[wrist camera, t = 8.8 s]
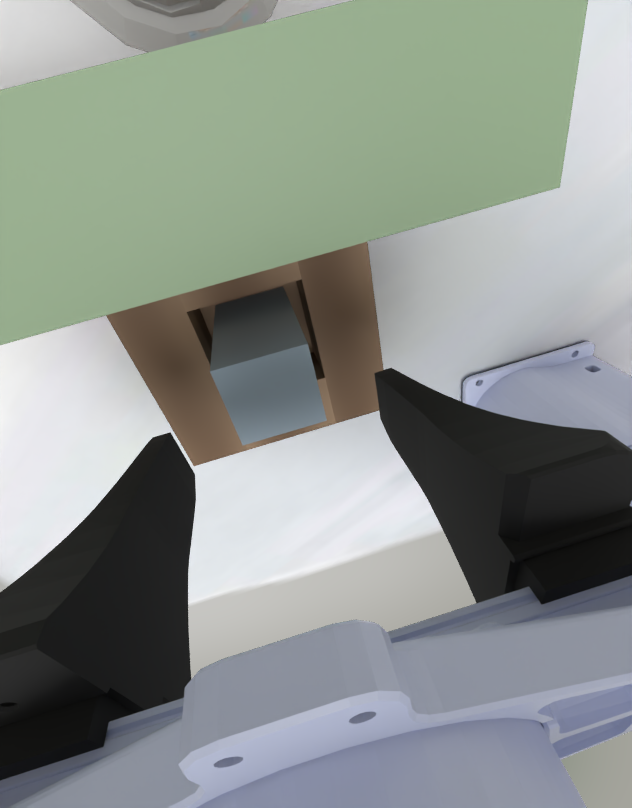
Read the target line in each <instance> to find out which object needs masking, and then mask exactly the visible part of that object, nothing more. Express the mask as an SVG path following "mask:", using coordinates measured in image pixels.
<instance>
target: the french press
mask: <svg viewBox="0 0 632 808" xmlns="http://www.w3.org/2000/svg"><path fill="white" fill-rule="evenodd" d="M70 1H71V2H73V3H74V4H75V5H76V6H78V7H79V8H80V9H81V10H83V11H84V12H85V13H86V14H88V15H89V16H90V17H92V18H93V19H94V20H95V21H97V22H98V23H99V24H100V25H102V26H103V27H104V28H105V29H107V30H108V31H109V32H110V33H112V34H113V35H114V36H115V37H117V38H118V39H119V40H121V41H122V42H123V43H124V44H126V45H128V46H131V47H134V48H137V49H141V50H144V51H147V52H152V51H156V50H160V49H164V48H168V47H172V46H176V45H180V44H184V43H188V42H192V41H196V40H199V39H203V38H207V37H211V36H215V35H219V34H223V33H227V32H231V31H235V30H239V29H243V28H247V27H250V26H254V25H258V24H262V23H264V22H265V21H266V20H267V19H268V18H270V16H271V14H272V12H273V10H274V8H275V5H276V3H277V1H278V0H70Z"/></svg>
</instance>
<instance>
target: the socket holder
mask: <svg viewBox="0 0 632 808" xmlns="http://www.w3.org/2000/svg"><path fill="white" fill-rule="evenodd" d="M587 4H588V0H352V1H349V2H345V3H341V4H337V5H333V6H329V7H325V8H321V9H317V10H313V11H309V12H305V13H301V14H298V15H294V16H290V17H286V18H282V19H278V20H274V21H270V22H266V23H262V24H258V25H254V26H250V27H247V28H243V29H239V30H235V31H231V32H227V33H223V34H219V35H215V36H211V37H207V38H203V39H199V40H196V41H192V42H188V43H184V44H180V45H176V46H172V47H168V48H164V49H160V50H156V51H152V52H148V53H145V54H141V55H137V56H133V57H129V58H125V59H121V60H117V61H113V62H109V63H105V64H101V65H97V66H94V67H90V68H86V69H82V70H78V71H74V72H70V73H66V74H62V75H58V76H54V77H50V78H46V79H43V80H39V81H35V82H31V83H27V84H23V85H19V86H15V87H11V88H7V89H3V90H0V345H2V344H6V343H10V342H13V341H17V340H20V339H24V338H27V337H31V336H34V335H38V334H41V333H45V332H49V331H52V330H56V329H59V328H63V327H66V326H70V325H73V324H77V323H80V322H84V321H88V320H91V319H95V318H98V317H102V316H105V315H106V316H107V318H108V320H109V321H110V323H111V325H112V326H113V328H114V330H115V332H116V333H117V335H118V337H119V338H120V340H121V342H122V344H123V345H124V347H125V349H126V350H127V352H128V354H129V356H130V357H131V359H132V361H133V362H134V364H135V366H136V368H137V369H138V371H139V373H140V374H141V376H142V378H143V379H144V381H145V383H146V385H147V386H148V388H149V390H150V391H151V393H152V395H153V397H154V398H155V400H156V402H157V403H158V405H159V407H160V409H161V410H162V412H163V414H164V415H165V417H166V419H167V421H168V422H169V424H170V426H171V427H172V429H173V431H174V433H175V434H176V436H177V438H178V439H179V441H180V443H181V445H182V446H183V448H184V450H185V451H186V453H187V455H188V457H189V458H190V460H191V462H192V463H193V465H194V466H196V465H199V464H203V463H206V462H209V461H213V460H216V459H219V458H223V457H226V456H229V455H232V454H236V453H239V452H242V451H246V450H249V449H252V448H256V447H259V446H262V445H266V444H269V443H272V442H276V441H279V440H282V439H286V438H289V437H292V436H296V435H299V434H302V433H305V432H309V431H312V430H315V429H319V428H322V427H325V426H329V425H332V424H335V423H339V422H342V421H345V420H349V419H352V418H355V417H359V416H362V415H365V414H369V413H372V412H375V411H379V404H378V396H377V389H376V382H375V375H374V373H376V372H379V371H383V363H382V355H381V347H380V339H379V331H378V323H377V315H376V307H375V299H374V291H373V283H372V275H371V267H370V259H369V251H368V244H367V242H368V241H371V240H375V239H378V238H382V237H385V236H389V235H392V234H396V233H399V232H403V231H407V230H410V229H414V228H417V227H421V226H424V225H428V224H431V223H435V222H438V221H442V220H446V219H449V218H453V217H456V216H460V215H463V214H467V213H470V212H474V211H477V210H481V209H485V208H488V207H492V206H495V205H499V204H502V203H506V202H509V201H513V200H516V199H520V198H524V197H527V196H531V195H534V194H538V193H541V192H545V191H548V190H552V189H555V188H559V187H560V182H561V176H562V169H563V162H564V156H565V149H566V143H567V136H568V129H569V123H570V116H571V110H572V103H573V96H574V90H575V83H576V77H577V70H578V63H579V57H580V50H581V44H582V37H583V30H584V24H585V17H586V11H587ZM279 287H284V290H285V292H286V294H287V297H288V299H289V301H290V303H291V306H292V308H293V310H294V313H295V315H296V317H297V320H298V322H299V324H300V327H301V329H302V331H303V334H304V336H305V338H306V340H307V343H308V346H309V350H310V354H311V358H312V362H313V366H314V370H315V374H316V379H317V383H318V387H319V391H320V395H321V399H322V403H323V407H324V411H325V415H326V419H327V421H324V422H320V423H317V424H314V425H310V426H307V427H304V428H300V429H297V430H293V431H290V432H287V433H283V434H280V435H277V436H273V437H270V438H266V439H263V440H260V441H256V442H253V443H250V444H246V445H242V443H241V441H240V438H239V436H238V434H237V431H236V429H235V427H234V425H233V422H232V420H231V418H230V416H229V413H228V411H227V409H226V407H225V404H224V402H223V400H222V398H221V395H220V393H219V391H218V389H217V386H216V384H215V382H214V380H213V377H212V375H211V373H210V364H211V353H212V341H213V329H214V317H215V305H218V304H222V303H225V302H229V301H232V300H236V299H240V298H243V297H247V296H250V295H254V294H258V293H261V292H265V291H268V290H272V289H276V288H279Z"/></svg>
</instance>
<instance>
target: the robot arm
mask: <svg viewBox="0 0 632 808" xmlns="http://www.w3.org/2000/svg"><path fill="white" fill-rule="evenodd" d="M594 349H595V345H594V344H593V343H591V342H589V341H587V342H583V343H580V344H576V345H573V346H570V347H566V348H563V349H560V350H556V351H553V352H550V353H546V354H543V355H540V356H536V357H533V358H530V359H526V360H523V361H520V362H516V363H513V364H510V365H506V366H503V367H500V368H496V369H493V370H490V371H486V372H483V373H480V374H476V375H473V376H470V377H468V378H466V379H465V380H464V382H463V400H462V402H460V401H458V400H455V399H453V398H451V397H448V396H446V395H443V394H441V393H439V392H437V391H435V390H433V389H431V388H428V387H426V386H424V385H422V384H421V383H419V382H417V381H415V380H413V379H411V378H409V377H407V376H405V375H404V374H402V373H400V372H398V371H396V370H394V369H392V368H389V369H386V370H383V371H379V372H376V373H374V375H375V382H376V389H377V396H378V404H379V411H380V418H381V421H382V423H383V425H384V427H385V429H386V432H387V434H388V436H389V438H390V440H391V442H392V444H393V445H394V447H395V448H396V450H397V451H398V453H399V455H400V456H401V458H402V459H403V461H404V462H405V464H406V465H407V467H408V468H409V470H410V472H411V473H412V475H413V476H414V478H415V479H416V481H417V482H418V484H419V485H420V487H421V489H422V490H423V492H424V494H425V495H426V497H427V499H428V501H429V503H430V505H431V507H432V509H433V511H434V513H435V515H436V517H437V519H438V521H439V523H440V525H441V527H442V529H443V531H444V533H445V534H446V537H447V539H448V541H449V543H450V545H451V547H452V549H453V552H454V554H455V556H456V558H457V560H458V562H459V565H460V567H461V569H462V571H463V573H464V575H465V577H466V580H467V582H468V584H469V587H470V589H471V591H472V593H473V596H474V598H475V600H476V604H473V605H470V606H467V607H464V608H461V609H457V610H454V611H451V612H448V613H445V614H442V615H439V616H436V617H433V618H430V619H426V620H424V621H420V622H417V623H414V624H411V625H408V626H405V627H402V628H399V629H396V630H392V631H389V632H386V631H385V630H384V629H383V628H382V627H381V626H380V625H379V624H377V623H375V622H370V621H362V620H351V621H346V622H340V623H335V624H331V625H327V626H324V627H321V628H318V629H315V630H312V631H309V632H306V633H303V634H300V635H296V636H293V637H290V638H287V639H284V640H281V641H277V642H274V643H271V644H268V645H265V646H262V647H259V648H255V649H252V650H249V651H246V652H243V653H240V654H237V655H233V656H230V657H227V658H224V659H221V660H219V661H217V662H215V663H213V664H210V665H208V666H206V667H204V668H202V669H200V670H199V671H198V672H197V674H196V675H195V676H194V677H193V678H192V679H191V671H190V653H189V633H188V566H189V555H190V546H191V538H192V529H193V521H194V512H195V502H196V492H195V474H194V472H193V470H192V469H191V467H190V465H189V464H188V462H187V460H186V458H185V457H184V455H183V453H182V452H181V450H180V448H179V446H178V445H177V443H176V441H175V440H174V438H173V436H172V435H171V433H167V434H163V435H160V436H157V437H153V438H152V439H151V440H150V441H149V442H148V444H147V445H146V446H145V447H144V448H143V450H142V451H141V452H140V454H139V455H138V456H137V457H136V459H135V460H134V461H133V463H132V464H131V465H130V466H129V468H128V469H127V470H126V472H125V473H124V474H123V475H122V477H121V478H120V479H119V480H118V482H117V483H116V484H115V485H114V486H113V488H112V489H111V490H110V491H109V492H108V494H107V495H106V496H105V497H104V498H103V499H102V501H101V502H100V503H99V504H98V505H97V506H96V508H95V509H94V510H93V511H92V512H91V513H90V514H89V515H88V516H87V517H86V518H85V519H84V520H83V521H82V522H81V523H80V524H79V525H78V526H77V527H76V528H75V529H74V530H73V531H72V532H71V533H70V534H69V535H68V536H67V537H66V538H65V539H64V540H63V541H62V542H61V543H60V544H58V545H57V546H56V547H55V548H54V549H53V550H52V551H51V552H49V553H48V554H47V555H46V556H45V557H44V558H43V559H41V560H40V561H39V562H38V563H37V564H36V565H35V566H33V567H32V568H31V569H30V570H28V571H27V572H26V573H25V574H24V575H22V576H21V577H20V578H19V579H17V580H16V581H15V582H13V583H12V584H11V585H10V586H8V587H7V588H6V589H4V590H3V591H2V592H0V808H587V807H586V805H585V803H584V801H583V800H582V798H581V796H580V794H579V793H578V791H577V789H576V787H575V785H574V783H573V782H572V780H571V778H570V776H569V774H568V772H567V771H566V769H565V767H564V765H563V764H562V762H561V759H564V758H566V757H569V756H571V755H574V754H576V753H579V752H581V751H583V750H586V749H588V748H591V747H593V746H596V745H598V744H600V743H603V742H606V741H608V740H610V739H613V738H615V737H618V736H620V735H623V734H625V733H628V732H630V731H632V376H630V375H628V374H626V373H624V372H622V371H621V370H619V369H617V368H615V367H613V366H611V365H609V364H608V363H606V362H604V361H602V360H600V359H598V358H596V357H595V356H593V352H594ZM478 380H479V382H478V383H476V382H477V381H478Z"/></svg>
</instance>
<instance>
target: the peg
mask: <svg viewBox="0 0 632 808" xmlns="http://www.w3.org/2000/svg"><path fill="white" fill-rule="evenodd" d="M210 373H211V375H212V377H213V380H214V382H215V384H216V386H217V389H218V391H219V393H220V395H221V398H222V400H223V402H224V404H225V407H226V409H227V411H228V413H229V416H230V418H231V420H232V422H233V425H234V427H235V429H236V431H237V434H238V436H239V438H240V441H241V443H242V445H246V444H250V443H253V442H256V441H260V440H263V439H266V438H270V437H273V436H277V435H280V434H283V433H287V432H290V431H293V430H297V429H300V428H304V427H307V426H310V425H314V424H317V423H320V422H324V421H327V419H326V415H325V411H324V407H323V403H322V399H321V395H320V391H319V387H318V383H317V379H316V374H315V370H314V366H313V362H312V358H311V354H310V350H309V346H308V343H307V340H306V338H305V336H304V334H303V331H302V329H301V327H300V324H299V322H298V320H297V317H296V315H295V313H294V310H293V308H292V306H291V303H290V301H289V299H288V297H287V294H286V292H285V290H284V287H279V288H276V289H272V290H268V291H265V292H261V293H258V294H254V295H250V296H247V297H243V298H240V299H236V300H232V301H229V302H225V303H222V304H218V305H215V317H214V329H213V341H212V353H211V364H210Z"/></svg>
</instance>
